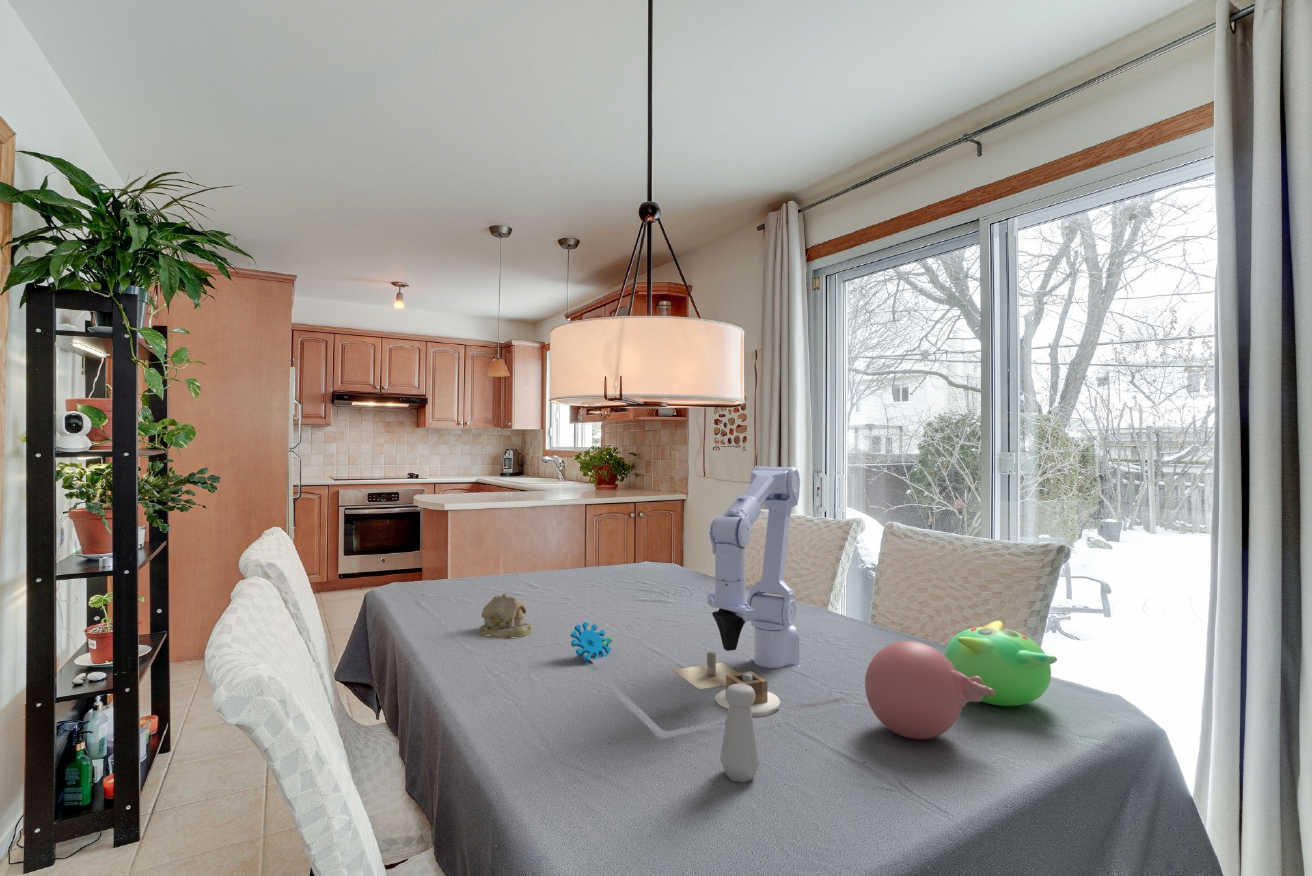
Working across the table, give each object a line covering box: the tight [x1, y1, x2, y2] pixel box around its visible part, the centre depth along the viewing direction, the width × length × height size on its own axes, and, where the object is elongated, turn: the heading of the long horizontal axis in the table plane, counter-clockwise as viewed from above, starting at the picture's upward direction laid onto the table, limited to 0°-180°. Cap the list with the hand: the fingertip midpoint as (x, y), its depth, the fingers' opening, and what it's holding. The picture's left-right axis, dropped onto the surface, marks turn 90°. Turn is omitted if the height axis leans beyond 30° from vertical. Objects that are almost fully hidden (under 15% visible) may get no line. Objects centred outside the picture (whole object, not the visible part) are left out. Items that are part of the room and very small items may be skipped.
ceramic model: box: [479, 593, 532, 638], centre depth 169 cm, size 14×11×10 cm
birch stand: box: [672, 651, 739, 690], centre depth 135 cm, size 12×12×6 cm
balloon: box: [864, 640, 995, 740], centre depth 108 cm, size 15×20×15 cm
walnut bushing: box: [725, 670, 769, 705], centre depth 122 cm, size 6×6×4 cm
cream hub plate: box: [714, 673, 781, 719], centre depth 122 cm, size 12×12×6 cm
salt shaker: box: [719, 684, 761, 783], centre depth 96 cm, size 6×6×13 cm
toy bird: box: [944, 620, 1058, 707], centre depth 123 cm, size 18×17×15 cm
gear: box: [569, 621, 614, 663], centre depth 149 cm, size 11×6×10 cm
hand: (729, 649), depth 125 cm, fingers closed
